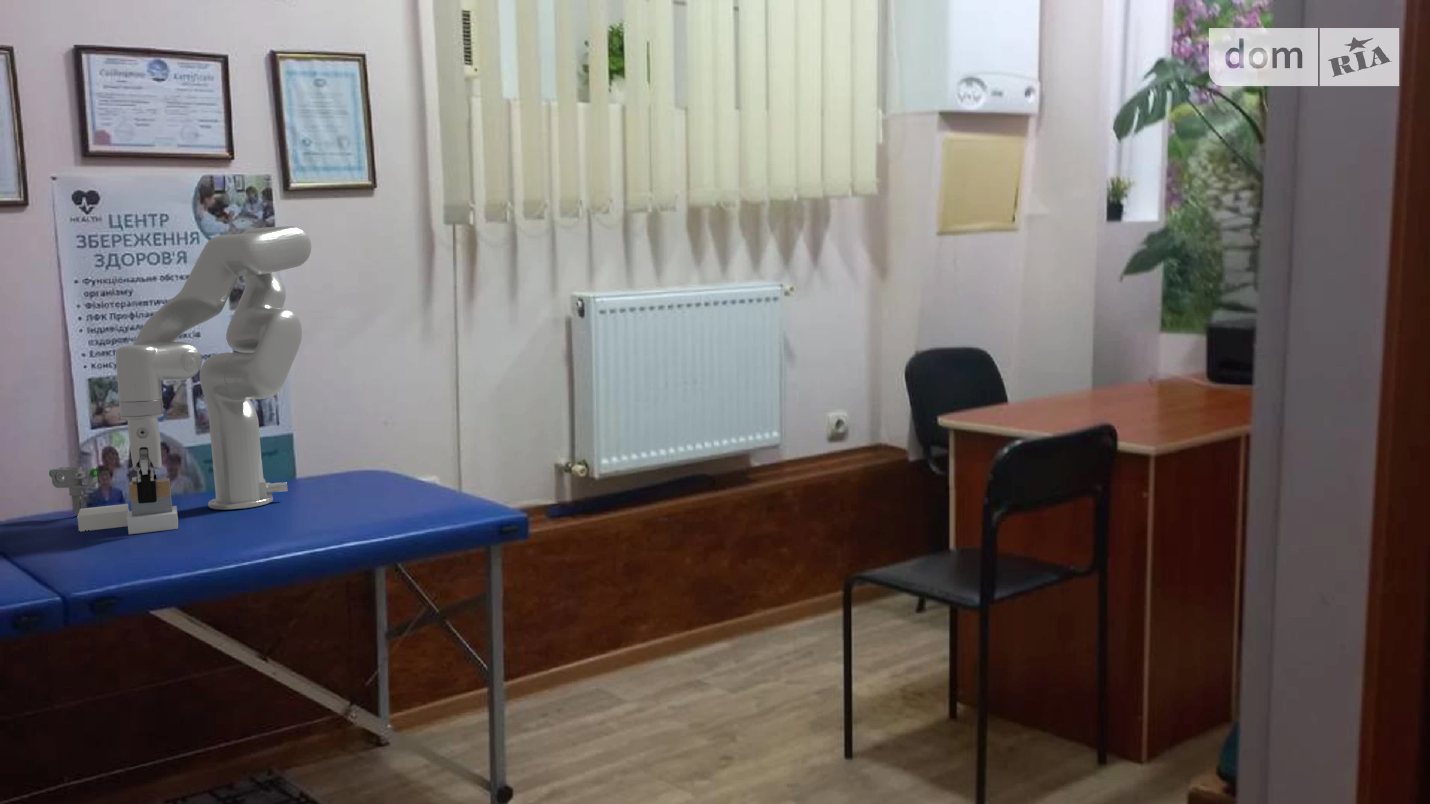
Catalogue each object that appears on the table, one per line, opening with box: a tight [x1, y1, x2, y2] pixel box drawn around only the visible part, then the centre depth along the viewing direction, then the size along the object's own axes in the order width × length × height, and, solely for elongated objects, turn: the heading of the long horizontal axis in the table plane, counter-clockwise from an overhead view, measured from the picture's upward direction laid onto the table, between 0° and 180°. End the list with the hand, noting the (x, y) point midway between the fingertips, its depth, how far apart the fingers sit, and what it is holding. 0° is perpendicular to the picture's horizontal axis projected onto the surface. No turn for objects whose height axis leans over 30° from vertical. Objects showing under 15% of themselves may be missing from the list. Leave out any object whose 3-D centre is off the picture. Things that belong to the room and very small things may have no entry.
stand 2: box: [127, 505, 179, 535], centre depth 247 cm, size 9×9×3 cm
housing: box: [128, 476, 173, 516], centre depth 246 cm, size 7×4×7 cm, turn 113°
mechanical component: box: [48, 466, 100, 515], centre depth 261 cm, size 3×10×10 cm, turn 79°
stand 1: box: [76, 503, 130, 532], centre depth 251 cm, size 9×9×3 cm
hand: (148, 499), depth 245 cm, fingers open, 9 cm apart
